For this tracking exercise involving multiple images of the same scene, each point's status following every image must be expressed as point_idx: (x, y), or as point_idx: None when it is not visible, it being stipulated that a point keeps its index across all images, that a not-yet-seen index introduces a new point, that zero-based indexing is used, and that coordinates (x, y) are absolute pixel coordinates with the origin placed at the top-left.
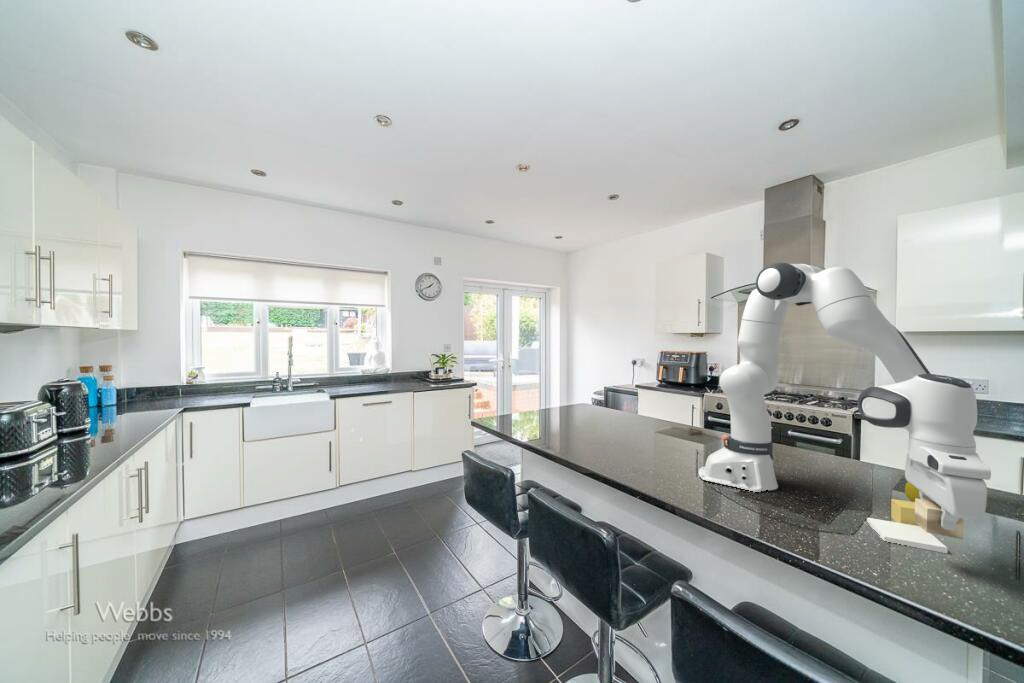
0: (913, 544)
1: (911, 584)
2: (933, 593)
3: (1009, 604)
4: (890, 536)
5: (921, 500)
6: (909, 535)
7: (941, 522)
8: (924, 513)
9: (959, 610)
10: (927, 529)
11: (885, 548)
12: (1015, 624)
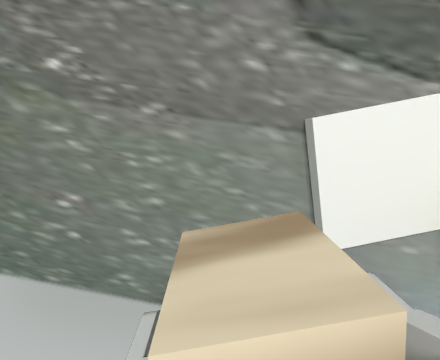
0: (314, 184)
1: (62, 141)
2: (52, 177)
3: (121, 290)
4: (324, 135)
5: (367, 344)
6: (363, 184)
7: (148, 333)
8: (206, 287)
9: (8, 208)
10: (181, 242)
11: (257, 115)
12: (35, 280)
